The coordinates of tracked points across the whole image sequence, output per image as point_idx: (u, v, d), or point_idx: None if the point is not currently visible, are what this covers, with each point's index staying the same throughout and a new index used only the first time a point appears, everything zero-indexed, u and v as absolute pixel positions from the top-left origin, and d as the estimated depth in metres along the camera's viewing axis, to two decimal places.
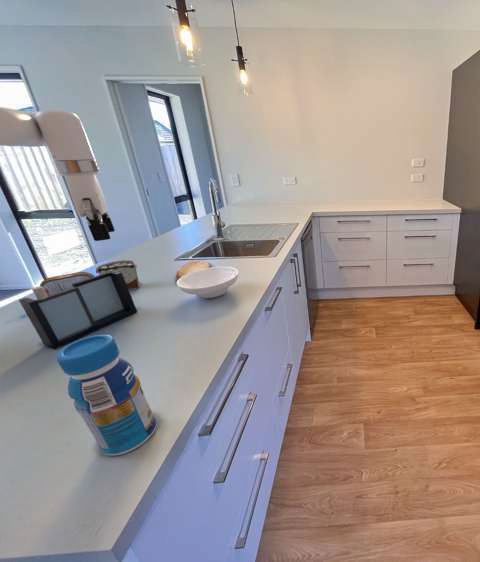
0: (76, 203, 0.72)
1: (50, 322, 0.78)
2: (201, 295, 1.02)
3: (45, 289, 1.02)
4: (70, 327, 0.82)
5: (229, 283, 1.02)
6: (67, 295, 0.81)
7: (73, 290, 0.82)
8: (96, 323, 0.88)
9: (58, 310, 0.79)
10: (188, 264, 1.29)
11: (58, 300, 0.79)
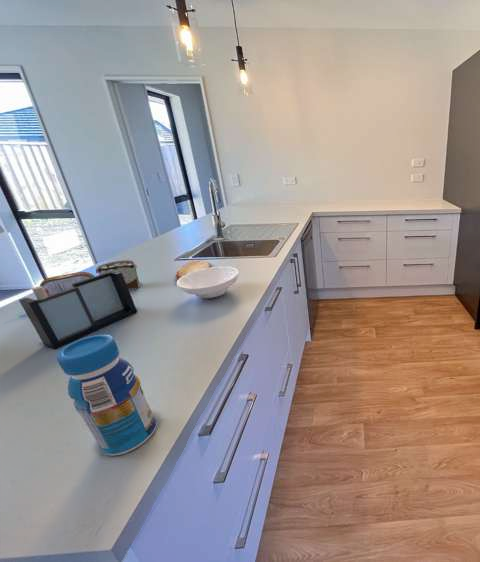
0: None
1: (50, 322, 0.78)
2: (201, 295, 1.02)
3: (45, 289, 1.02)
4: (70, 327, 0.82)
5: (229, 283, 1.02)
6: (67, 295, 0.81)
7: (73, 290, 0.82)
8: (96, 323, 0.88)
9: (58, 310, 0.79)
10: (188, 264, 1.29)
11: (58, 300, 0.79)
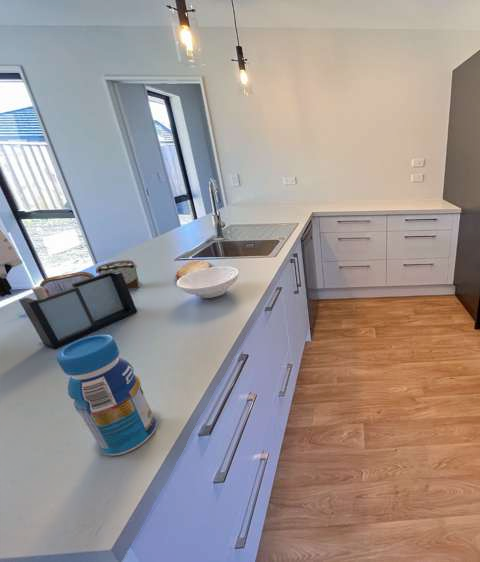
0: None
1: (50, 322, 0.78)
2: (201, 295, 1.02)
3: (45, 289, 1.02)
4: (70, 327, 0.82)
5: (229, 283, 1.02)
6: (67, 295, 0.81)
7: (73, 290, 0.82)
8: (96, 323, 0.88)
9: (58, 310, 0.79)
10: (188, 264, 1.29)
11: (58, 300, 0.79)
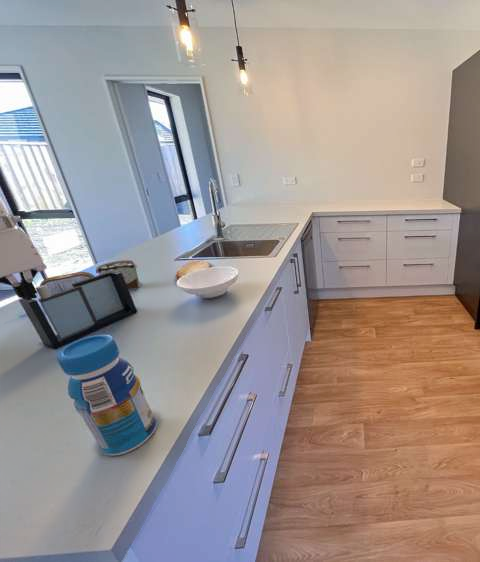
0: None
1: (53, 321, 0.79)
2: (201, 295, 1.02)
3: None
4: (73, 325, 0.83)
5: (229, 283, 1.02)
6: (70, 294, 0.81)
7: (76, 289, 0.82)
8: (96, 323, 0.88)
9: (61, 309, 0.80)
10: (188, 264, 1.29)
11: (61, 299, 0.80)
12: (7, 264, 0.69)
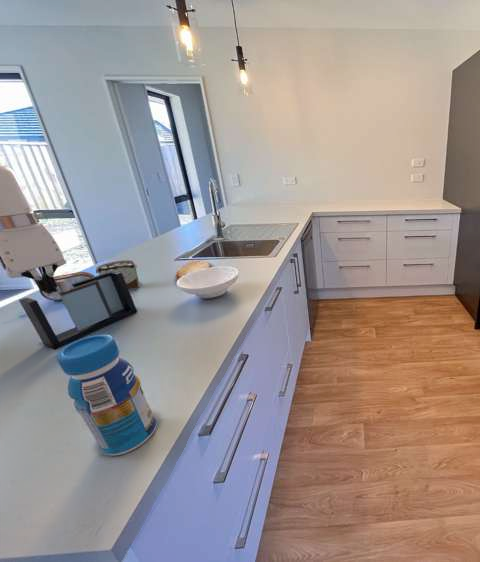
0: None
1: (72, 313, 0.82)
2: (201, 295, 1.02)
3: None
4: (90, 318, 0.86)
5: (229, 283, 1.02)
6: (88, 288, 0.85)
7: (93, 283, 0.86)
8: (96, 323, 0.88)
9: (79, 302, 0.83)
10: (188, 264, 1.29)
11: (80, 292, 0.83)
12: (30, 259, 0.72)
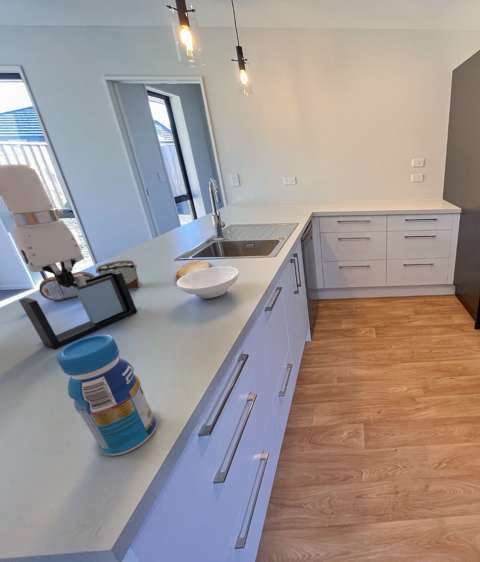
0: None
1: (88, 307, 0.85)
2: (201, 295, 1.02)
3: (45, 289, 1.02)
4: (105, 312, 0.89)
5: (229, 283, 1.02)
6: (103, 283, 0.88)
7: (108, 278, 0.89)
8: (96, 323, 0.88)
9: (95, 296, 0.87)
10: (188, 264, 1.29)
11: (96, 287, 0.86)
12: (51, 254, 0.75)
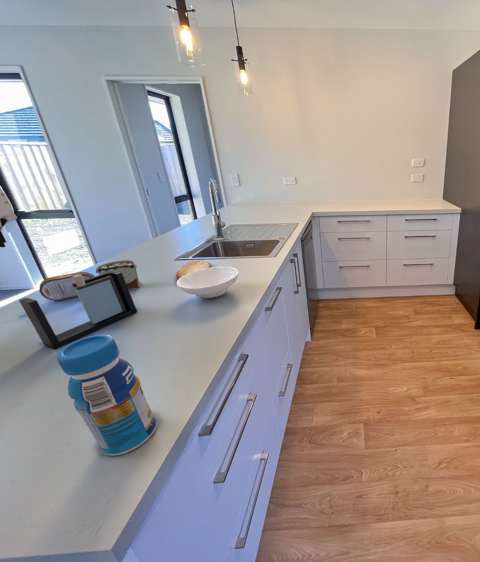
0: None
1: (88, 307, 0.85)
2: (201, 295, 1.02)
3: (45, 289, 1.02)
4: (104, 312, 0.89)
5: (229, 283, 1.02)
6: (102, 283, 0.88)
7: (107, 278, 0.89)
8: (96, 323, 0.88)
9: (94, 297, 0.86)
10: (188, 264, 1.29)
11: (95, 287, 0.86)
12: None
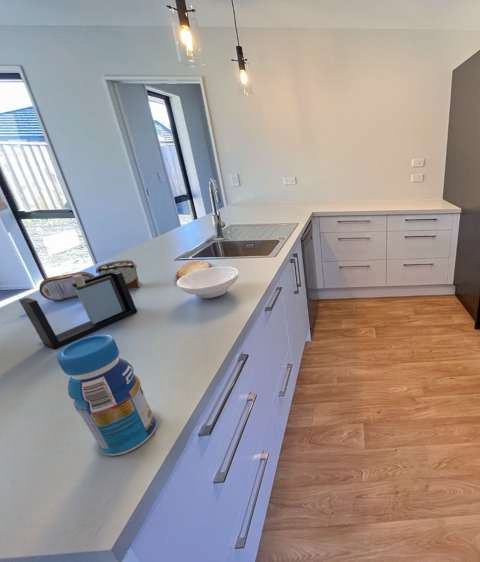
0: None
1: (88, 307, 0.85)
2: (201, 295, 1.02)
3: (45, 289, 1.02)
4: (104, 312, 0.89)
5: (229, 283, 1.02)
6: (102, 283, 0.88)
7: (107, 278, 0.89)
8: (96, 323, 0.88)
9: (94, 297, 0.86)
10: (188, 264, 1.29)
11: (95, 287, 0.86)
12: None
